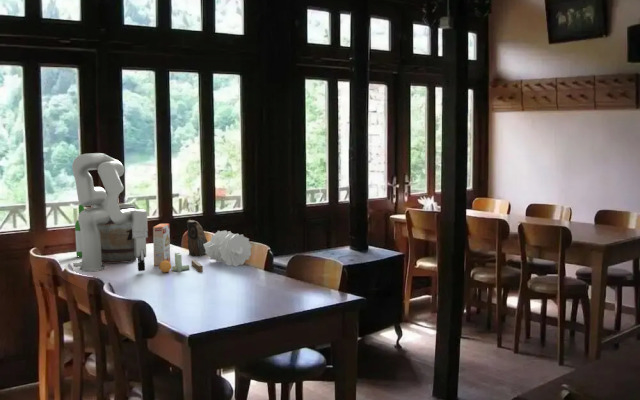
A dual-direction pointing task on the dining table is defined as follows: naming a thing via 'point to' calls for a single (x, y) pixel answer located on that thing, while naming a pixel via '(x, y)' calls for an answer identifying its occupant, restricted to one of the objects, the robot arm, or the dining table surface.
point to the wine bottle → (78, 234)
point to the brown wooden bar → (197, 265)
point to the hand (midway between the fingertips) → (141, 270)
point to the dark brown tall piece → (196, 239)
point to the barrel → (117, 241)
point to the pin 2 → (179, 263)
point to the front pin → (184, 267)
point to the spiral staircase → (228, 248)
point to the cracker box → (161, 243)
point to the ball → (165, 266)
